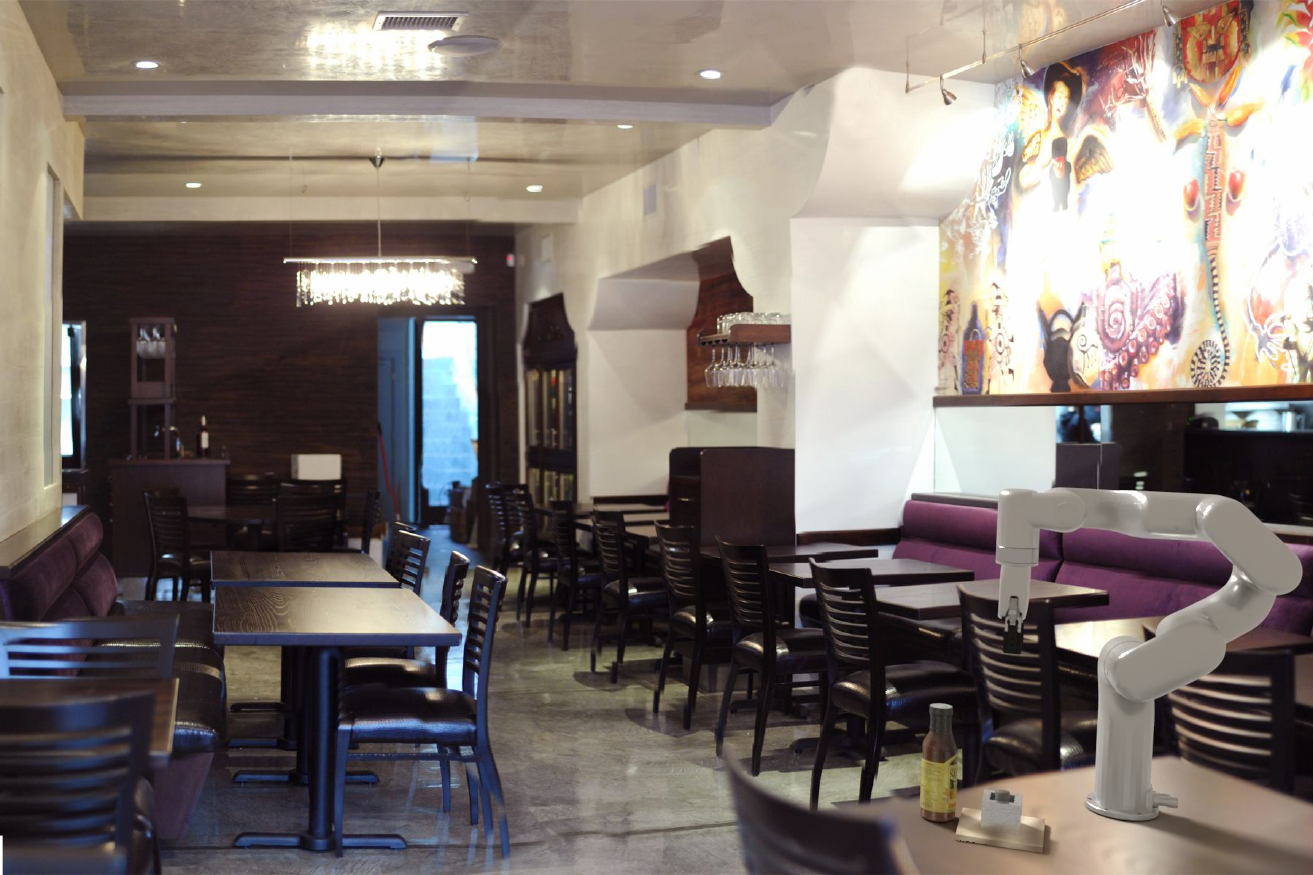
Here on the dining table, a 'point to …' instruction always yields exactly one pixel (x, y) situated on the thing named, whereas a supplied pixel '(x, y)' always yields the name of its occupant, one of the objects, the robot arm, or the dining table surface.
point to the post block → (1027, 839)
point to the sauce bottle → (939, 767)
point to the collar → (1001, 813)
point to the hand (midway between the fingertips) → (1013, 648)
